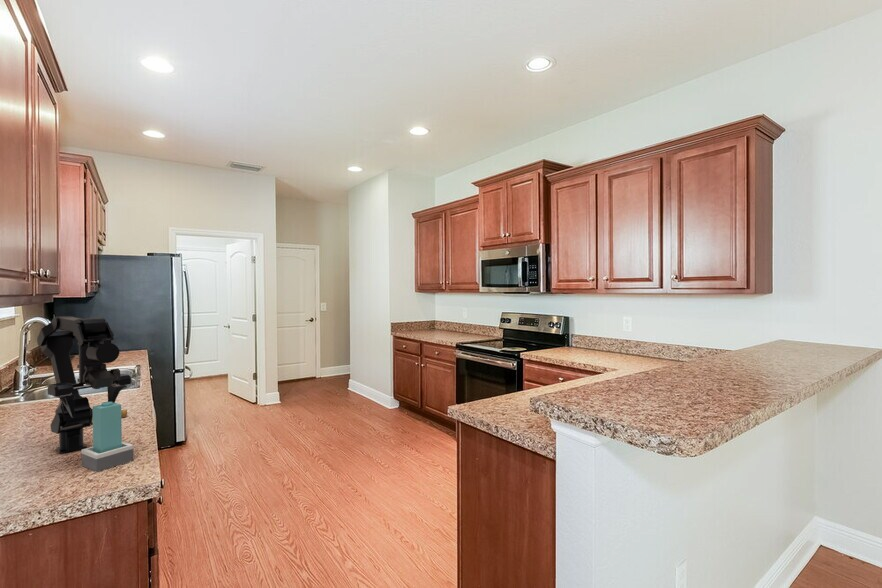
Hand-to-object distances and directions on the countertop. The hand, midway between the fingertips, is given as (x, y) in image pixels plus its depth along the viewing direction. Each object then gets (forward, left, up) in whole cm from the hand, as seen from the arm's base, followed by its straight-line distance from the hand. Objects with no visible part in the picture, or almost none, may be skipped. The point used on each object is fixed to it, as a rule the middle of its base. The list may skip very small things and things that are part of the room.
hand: (92, 413), depth 127 cm
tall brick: (+9, +2, -10) cm, 13 cm away
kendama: (-44, +9, -13) cm, 47 cm away
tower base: (+9, +2, -13) cm, 16 cm away
